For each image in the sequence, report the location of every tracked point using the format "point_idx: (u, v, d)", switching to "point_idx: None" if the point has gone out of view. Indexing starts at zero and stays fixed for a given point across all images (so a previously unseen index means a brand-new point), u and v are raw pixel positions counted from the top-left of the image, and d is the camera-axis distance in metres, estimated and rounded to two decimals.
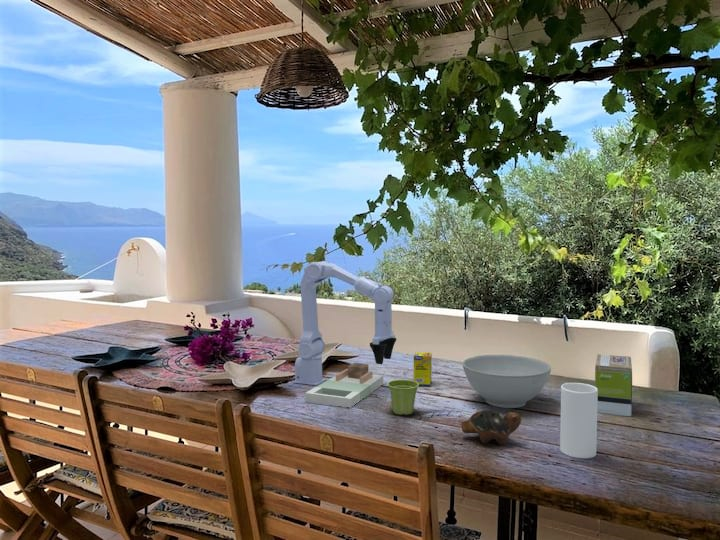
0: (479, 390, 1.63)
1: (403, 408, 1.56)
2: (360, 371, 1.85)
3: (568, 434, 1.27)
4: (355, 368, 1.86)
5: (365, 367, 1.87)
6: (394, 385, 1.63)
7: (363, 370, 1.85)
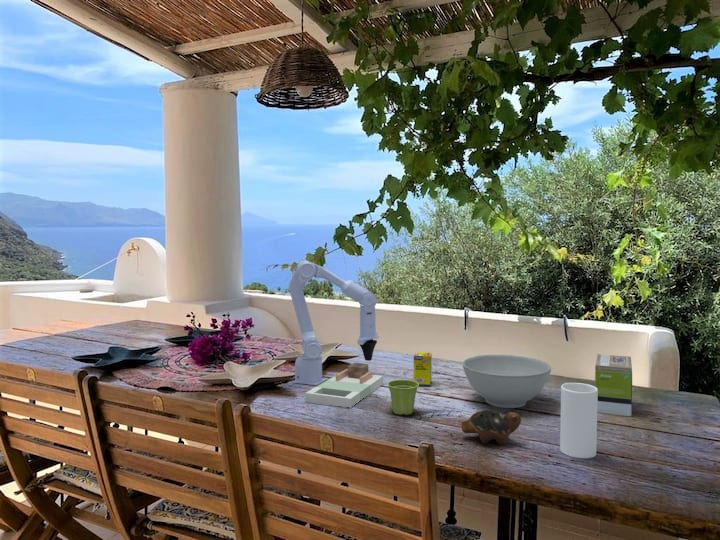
0: (479, 390, 1.63)
1: (403, 408, 1.56)
2: (360, 371, 1.85)
3: (568, 434, 1.27)
4: (355, 368, 1.86)
5: (365, 367, 1.87)
6: (394, 385, 1.63)
7: (363, 370, 1.85)
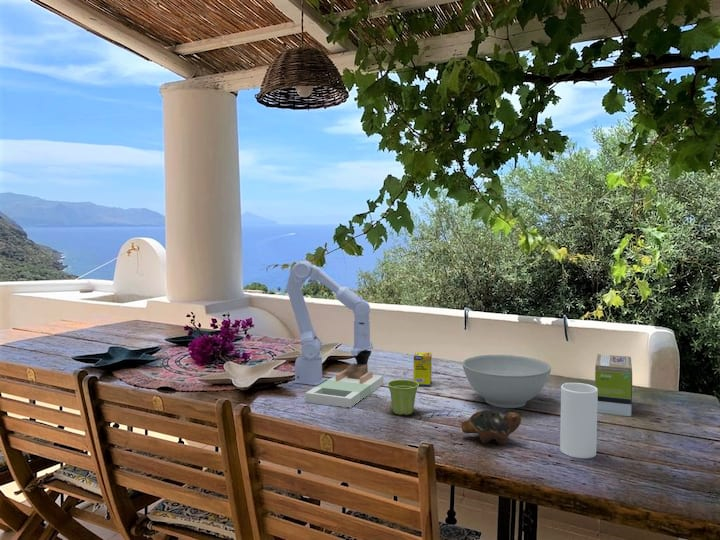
0: (479, 390, 1.63)
1: (403, 408, 1.56)
2: (360, 371, 1.84)
3: (568, 434, 1.27)
4: (354, 368, 1.85)
5: (364, 367, 1.86)
6: (394, 385, 1.63)
7: (362, 370, 1.85)
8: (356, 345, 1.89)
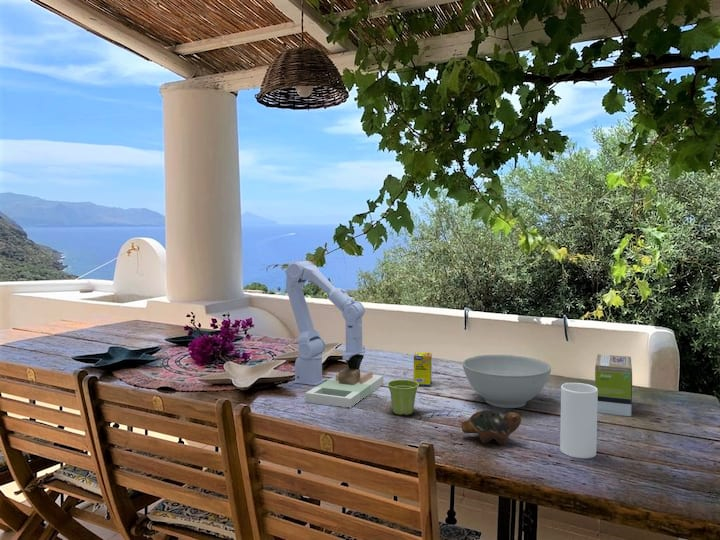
0: (479, 390, 1.63)
1: (403, 408, 1.56)
2: (352, 376, 1.78)
3: (568, 434, 1.27)
4: (346, 374, 1.78)
5: (357, 372, 1.80)
6: (394, 385, 1.63)
7: (354, 375, 1.78)
8: (348, 349, 1.82)
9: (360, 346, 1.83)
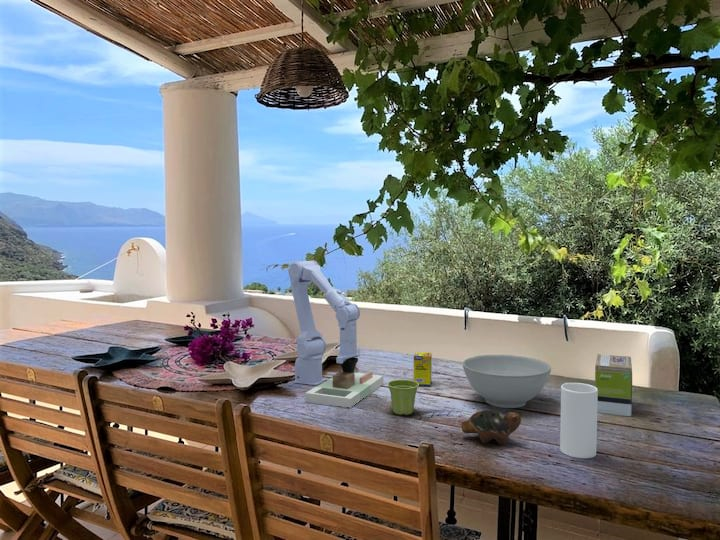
0: (479, 390, 1.63)
1: (403, 408, 1.56)
2: (346, 380, 1.73)
3: (568, 434, 1.27)
4: (340, 377, 1.74)
5: (351, 376, 1.76)
6: (394, 385, 1.63)
7: (348, 379, 1.74)
8: (342, 352, 1.78)
9: (354, 349, 1.78)
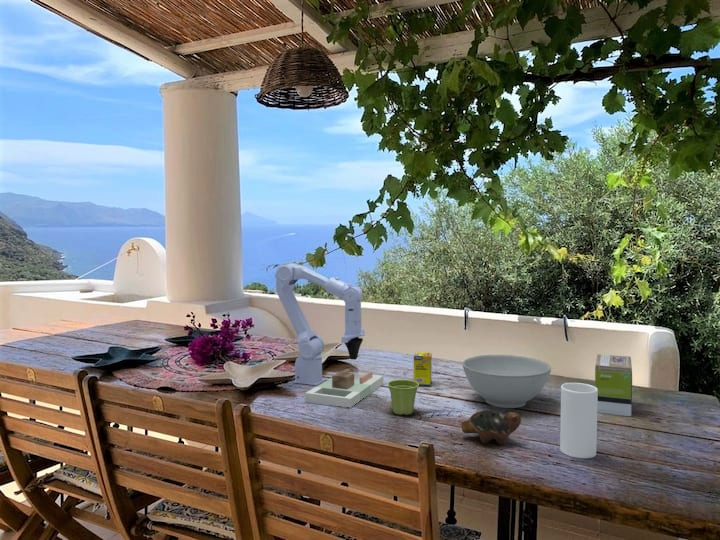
0: (479, 390, 1.63)
1: (403, 408, 1.56)
2: (345, 380, 1.73)
3: (568, 434, 1.27)
4: (340, 377, 1.74)
5: (350, 376, 1.75)
6: (394, 385, 1.63)
7: (348, 379, 1.74)
8: (347, 332, 1.85)
9: (359, 329, 1.85)
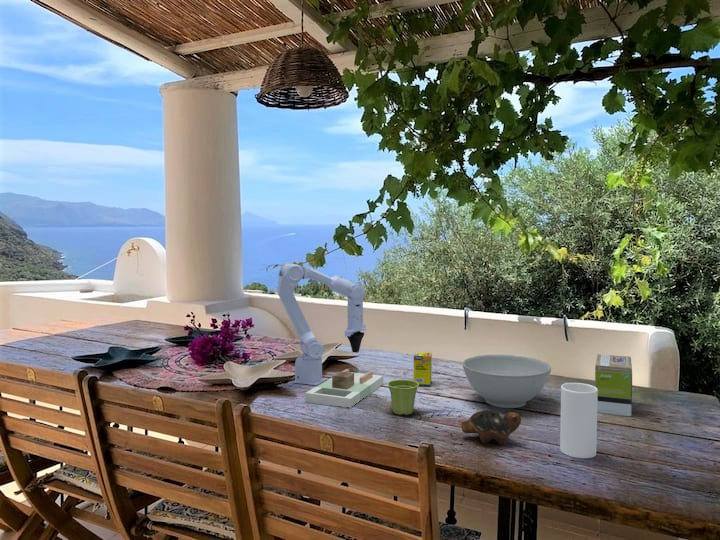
0: (479, 390, 1.63)
1: (403, 408, 1.56)
2: (345, 380, 1.73)
3: (568, 434, 1.27)
4: (340, 377, 1.74)
5: (350, 376, 1.75)
6: (394, 385, 1.63)
7: (348, 379, 1.74)
8: (349, 327, 1.95)
9: (361, 324, 1.96)
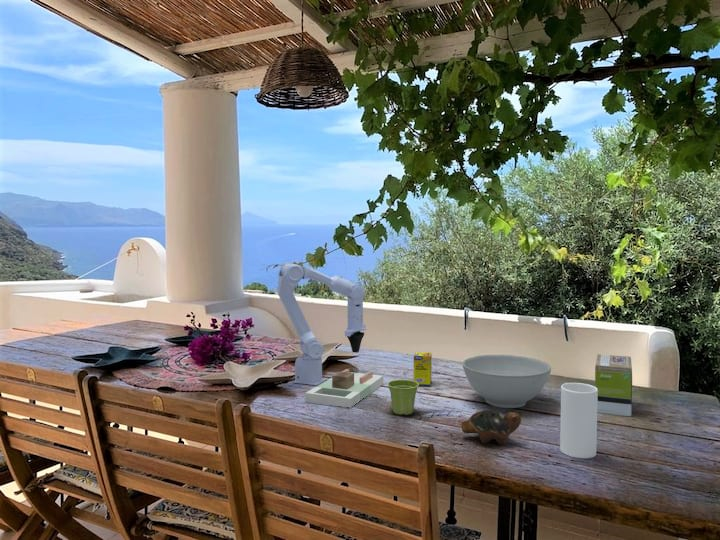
0: (479, 390, 1.63)
1: (403, 408, 1.56)
2: (345, 380, 1.73)
3: (568, 434, 1.27)
4: (340, 377, 1.74)
5: (350, 376, 1.75)
6: (394, 385, 1.63)
7: (348, 379, 1.74)
8: (349, 327, 1.95)
9: (361, 324, 1.96)
